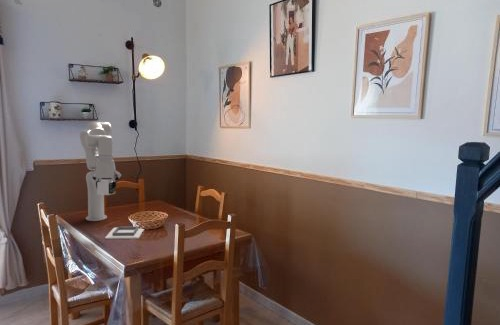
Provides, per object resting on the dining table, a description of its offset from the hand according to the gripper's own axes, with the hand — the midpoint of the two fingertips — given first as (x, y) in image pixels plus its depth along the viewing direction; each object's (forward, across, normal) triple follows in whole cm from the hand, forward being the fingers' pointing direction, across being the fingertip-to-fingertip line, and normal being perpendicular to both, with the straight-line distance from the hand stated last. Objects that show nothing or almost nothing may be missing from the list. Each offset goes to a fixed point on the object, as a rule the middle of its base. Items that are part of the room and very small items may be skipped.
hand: (106, 188), depth 195 cm
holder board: (+26, +11, -2) cm, 28 cm away
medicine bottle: (+4, 0, 0) cm, 4 cm away
